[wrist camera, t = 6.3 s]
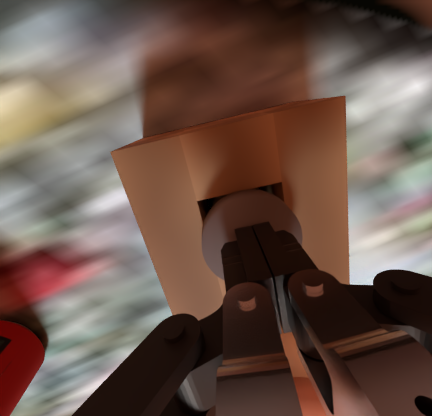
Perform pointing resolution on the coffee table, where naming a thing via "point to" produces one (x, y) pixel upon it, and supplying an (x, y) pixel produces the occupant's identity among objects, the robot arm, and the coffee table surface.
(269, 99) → the coffee table surface
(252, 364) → the robot arm
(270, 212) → the plunger
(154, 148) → the oak block
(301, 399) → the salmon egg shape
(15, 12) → the coffee table surface
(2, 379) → the beverage can
